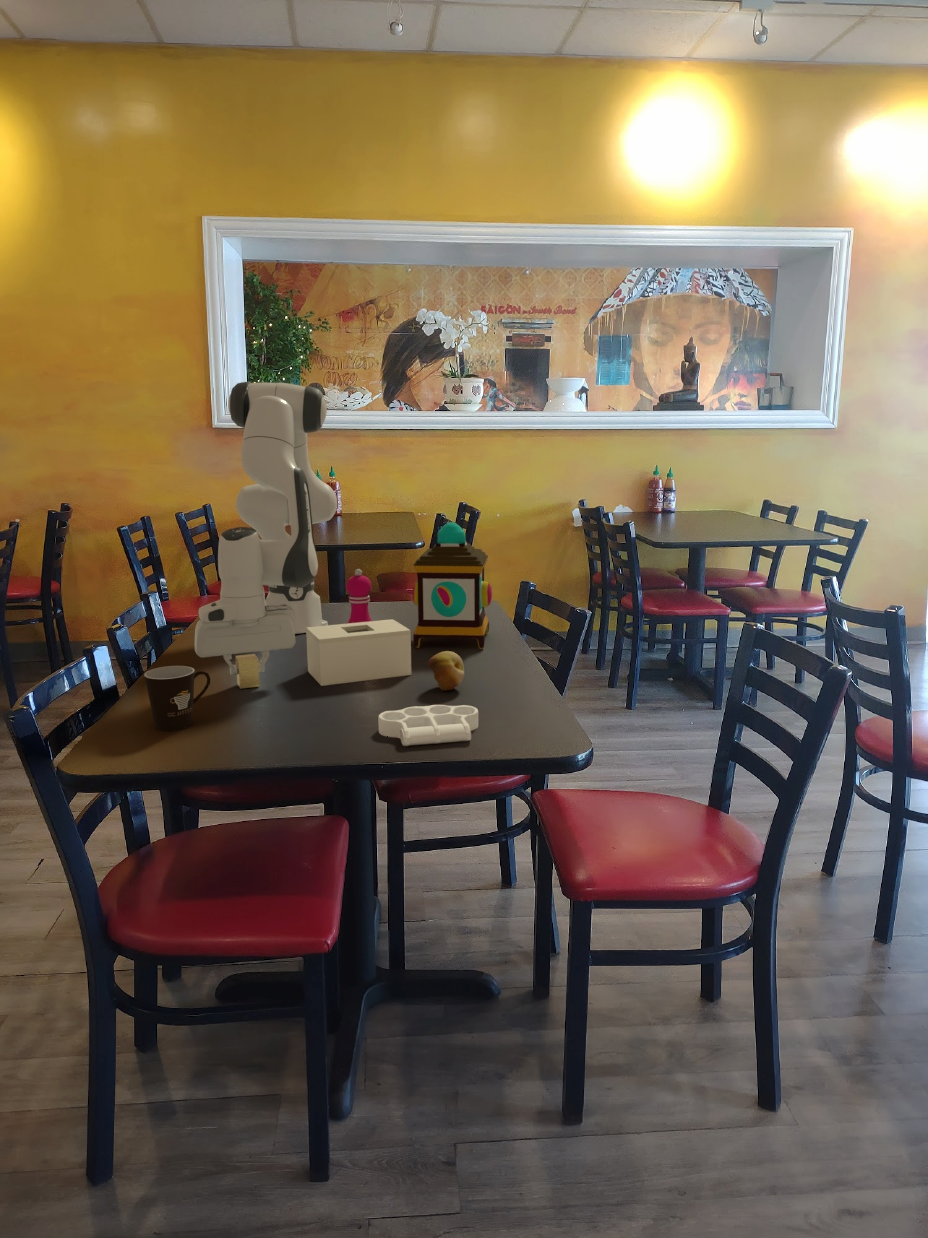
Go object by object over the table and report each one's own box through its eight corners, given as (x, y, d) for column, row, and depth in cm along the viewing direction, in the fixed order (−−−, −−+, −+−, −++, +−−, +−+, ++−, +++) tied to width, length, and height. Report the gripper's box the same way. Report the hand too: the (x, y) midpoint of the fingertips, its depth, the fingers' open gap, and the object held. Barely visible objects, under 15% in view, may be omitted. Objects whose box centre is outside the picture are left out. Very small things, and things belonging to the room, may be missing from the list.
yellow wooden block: (237, 683, 181) (235, 655, 179) (256, 681, 182) (254, 653, 181) (240, 688, 177) (238, 660, 176) (259, 686, 179) (258, 658, 177)
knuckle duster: (385, 752, 143) (375, 724, 157) (489, 743, 147) (470, 716, 161) (384, 733, 143) (374, 706, 157) (489, 725, 146) (470, 699, 160)
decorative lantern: (494, 632, 226) (494, 518, 219) (489, 651, 207) (489, 526, 200) (419, 631, 228) (417, 517, 221) (407, 649, 209) (404, 526, 202)
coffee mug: (150, 736, 151) (145, 681, 148) (147, 721, 158) (142, 669, 156) (218, 726, 155) (214, 673, 153) (212, 712, 163) (208, 661, 161)
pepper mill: (370, 654, 204) (368, 571, 200) (341, 653, 205) (338, 571, 201) (379, 647, 211) (377, 566, 207) (351, 646, 212) (348, 566, 208)
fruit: (440, 697, 171) (440, 658, 170) (420, 687, 178) (419, 650, 176) (472, 691, 175) (472, 653, 173) (451, 681, 182) (451, 645, 180)
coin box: (308, 671, 190) (306, 627, 188) (393, 661, 198) (392, 619, 196) (321, 685, 180) (319, 639, 177) (411, 674, 187) (410, 630, 185)
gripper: (290, 600, 183) (293, 663, 186) (190, 609, 175) (195, 674, 178) (297, 606, 177) (300, 670, 180) (194, 615, 169) (199, 682, 172)
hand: (247, 672), depth 179 cm, fingers closed on yellow wooden block, 4 cm apart
